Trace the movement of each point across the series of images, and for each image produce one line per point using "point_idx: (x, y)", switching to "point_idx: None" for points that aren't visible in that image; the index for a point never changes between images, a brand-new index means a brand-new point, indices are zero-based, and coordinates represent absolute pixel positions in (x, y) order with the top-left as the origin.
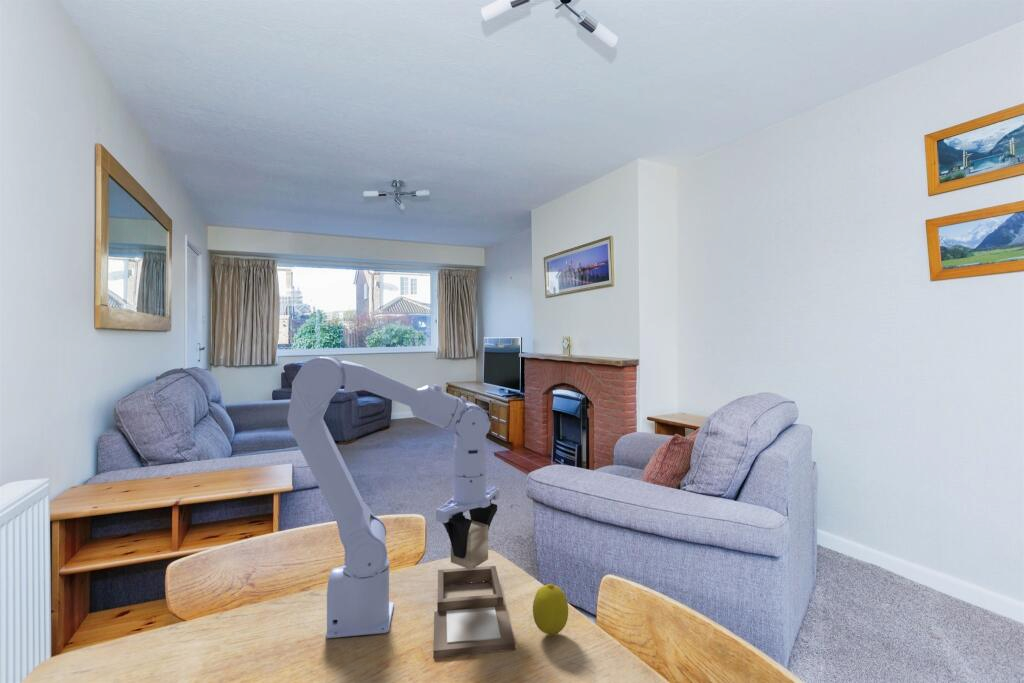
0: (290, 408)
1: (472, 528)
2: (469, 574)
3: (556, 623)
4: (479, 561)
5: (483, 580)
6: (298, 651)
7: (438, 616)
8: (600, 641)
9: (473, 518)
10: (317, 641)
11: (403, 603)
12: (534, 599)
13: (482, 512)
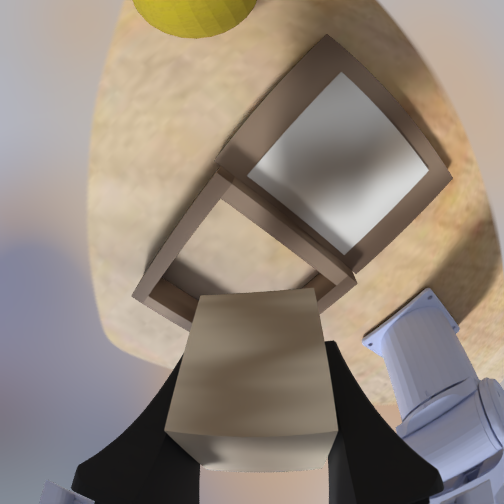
0: None
1: (268, 450)
2: None
3: None
4: (256, 301)
5: (172, 288)
6: (478, 324)
7: (365, 254)
8: None
9: (194, 469)
10: (461, 328)
11: (345, 334)
12: (232, 2)
13: (166, 495)
